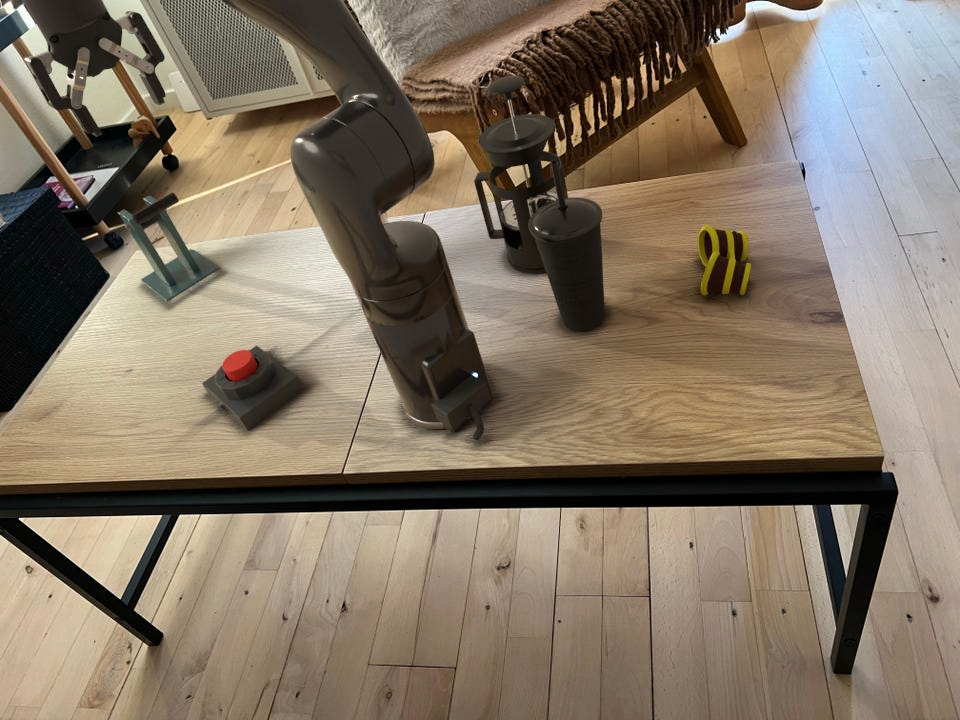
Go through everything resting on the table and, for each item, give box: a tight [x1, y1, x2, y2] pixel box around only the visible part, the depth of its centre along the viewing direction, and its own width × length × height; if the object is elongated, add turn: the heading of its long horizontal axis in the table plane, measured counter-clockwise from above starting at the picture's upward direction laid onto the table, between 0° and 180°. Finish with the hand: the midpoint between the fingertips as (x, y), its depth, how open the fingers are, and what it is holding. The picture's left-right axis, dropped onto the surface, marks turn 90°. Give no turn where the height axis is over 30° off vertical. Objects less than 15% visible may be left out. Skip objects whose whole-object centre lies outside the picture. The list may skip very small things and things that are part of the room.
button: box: [221, 349, 258, 382], centre depth 90 cm, size 4×4×2 cm
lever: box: [132, 192, 180, 231], centre depth 107 cm, size 12×6×2 cm, turn 43°
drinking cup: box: [528, 161, 606, 333], centre depth 83 cm, size 8×8×20 cm
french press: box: [473, 75, 569, 275], centre depth 93 cm, size 12×9×23 cm
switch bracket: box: [117, 195, 220, 302], centre depth 114 cm, size 10×9×13 cm
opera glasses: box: [697, 224, 752, 296], centre depth 87 cm, size 10×5×5 cm, turn 170°
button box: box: [201, 345, 305, 432], centre depth 92 cm, size 10×8×4 cm
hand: (129, 118), depth 95 cm, fingers open, 8 cm apart
